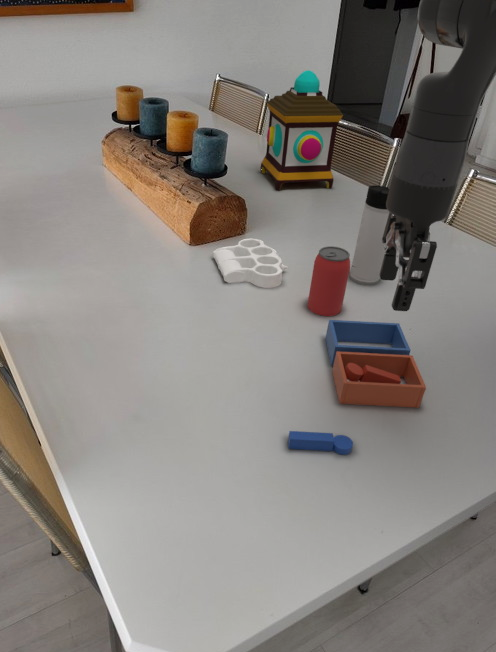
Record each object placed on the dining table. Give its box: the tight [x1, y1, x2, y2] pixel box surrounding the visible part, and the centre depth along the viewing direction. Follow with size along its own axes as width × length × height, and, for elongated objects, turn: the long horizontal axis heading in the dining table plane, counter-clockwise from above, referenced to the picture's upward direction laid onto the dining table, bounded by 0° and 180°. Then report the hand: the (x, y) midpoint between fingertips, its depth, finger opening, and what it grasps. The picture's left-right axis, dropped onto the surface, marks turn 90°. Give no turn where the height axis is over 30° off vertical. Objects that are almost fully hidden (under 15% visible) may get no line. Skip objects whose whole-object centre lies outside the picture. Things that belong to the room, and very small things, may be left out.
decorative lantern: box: [260, 69, 344, 192], centre depth 156 cm, size 20×20×30 cm
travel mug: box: [349, 185, 390, 286], centre depth 110 cm, size 6×7×20 cm
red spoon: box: [344, 363, 402, 384], centre depth 84 cm, size 9×3×2 cm, turn 89°
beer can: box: [307, 246, 351, 317], centre depth 102 cm, size 7×7×12 cm
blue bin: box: [324, 319, 411, 367], centre depth 92 cm, size 12×8×4 cm
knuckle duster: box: [212, 238, 289, 289], centre depth 117 cm, size 3×18×15 cm
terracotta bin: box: [331, 351, 427, 409], centre depth 85 cm, size 12×8×4 cm
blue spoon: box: [287, 430, 354, 456], centre depth 75 cm, size 9×3×2 cm, turn 88°
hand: (392, 293), depth 75 cm, fingers open, 8 cm apart
